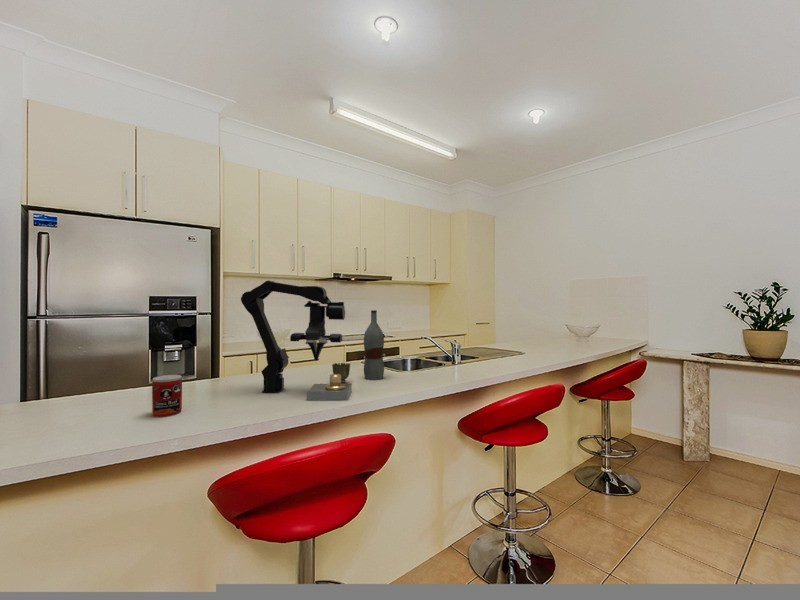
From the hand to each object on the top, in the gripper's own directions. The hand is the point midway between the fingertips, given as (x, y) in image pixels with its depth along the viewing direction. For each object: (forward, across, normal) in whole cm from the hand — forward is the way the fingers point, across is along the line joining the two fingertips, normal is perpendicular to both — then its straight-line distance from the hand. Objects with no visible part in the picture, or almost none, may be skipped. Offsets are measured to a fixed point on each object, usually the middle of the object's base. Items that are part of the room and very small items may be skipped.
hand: (316, 360), depth 142 cm
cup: (+12, +7, +14) cm, 19 cm away
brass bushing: (+11, +9, -7) cm, 16 cm away
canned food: (+13, -38, -29) cm, 50 cm away
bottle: (+11, +20, +24) cm, 33 cm away
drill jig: (+12, +7, -7) cm, 15 cm away
